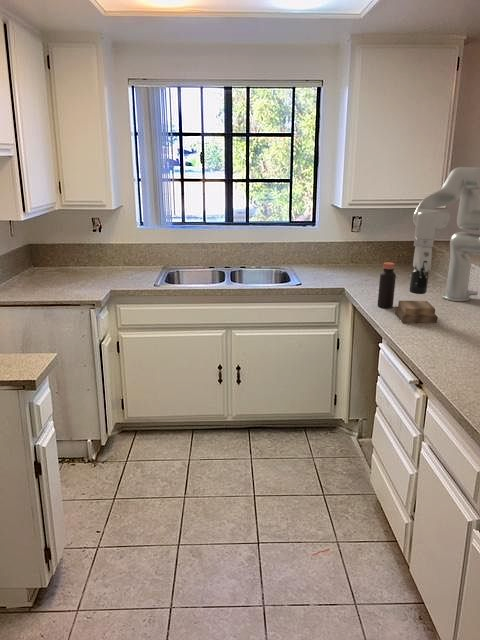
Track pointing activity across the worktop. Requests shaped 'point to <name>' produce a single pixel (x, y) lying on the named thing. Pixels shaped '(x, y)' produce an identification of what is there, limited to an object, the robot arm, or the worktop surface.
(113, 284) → the worktop surface
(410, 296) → the worktop surface
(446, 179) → the robot arm
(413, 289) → the supplement bottle
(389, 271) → the vinegar
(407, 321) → the stepped wooden plinth
